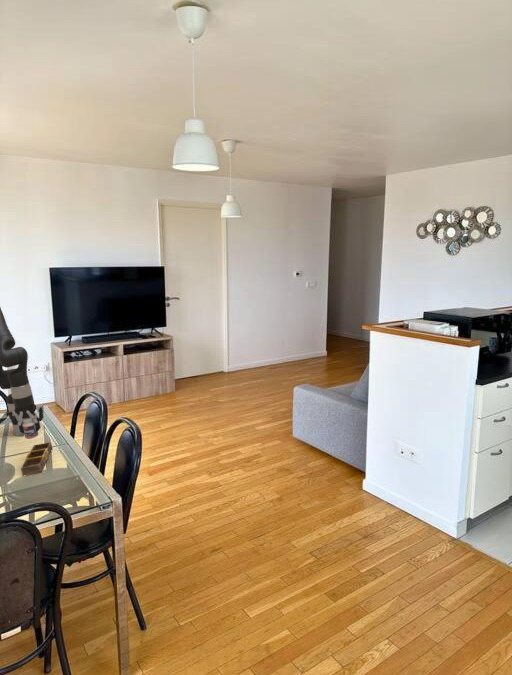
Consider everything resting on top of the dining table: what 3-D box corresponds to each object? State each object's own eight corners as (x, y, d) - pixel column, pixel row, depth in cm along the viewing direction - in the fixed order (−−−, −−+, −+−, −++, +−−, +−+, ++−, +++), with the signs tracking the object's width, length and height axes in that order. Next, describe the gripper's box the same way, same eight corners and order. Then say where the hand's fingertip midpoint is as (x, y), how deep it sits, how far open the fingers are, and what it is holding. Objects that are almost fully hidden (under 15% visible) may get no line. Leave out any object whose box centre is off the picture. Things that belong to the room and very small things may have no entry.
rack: (35, 452, 212) (33, 444, 211) (53, 449, 213) (51, 441, 212) (22, 476, 192) (20, 467, 191) (42, 472, 193) (40, 464, 192)
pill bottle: (23, 440, 196) (19, 421, 194) (27, 434, 201) (22, 416, 199) (36, 438, 197) (32, 418, 195) (40, 432, 202) (35, 414, 200)
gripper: (42, 388, 199) (50, 425, 204) (6, 394, 197) (15, 430, 201) (38, 395, 192) (46, 432, 196) (0, 400, 190) (10, 438, 194)
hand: (30, 431), depth 199 cm, fingers closed on pill bottle, 5 cm apart
